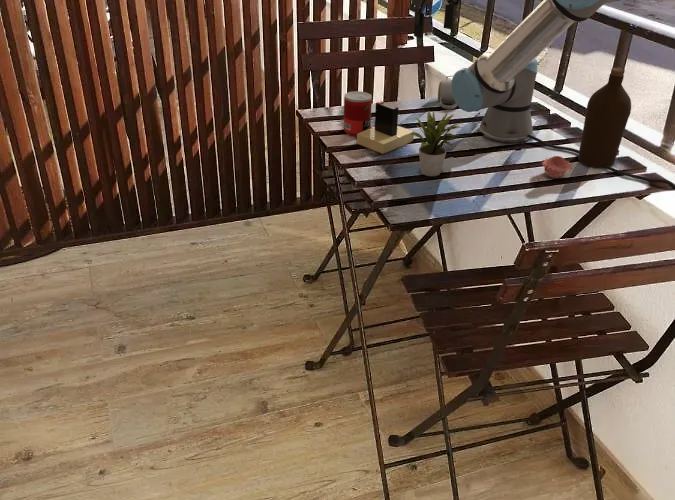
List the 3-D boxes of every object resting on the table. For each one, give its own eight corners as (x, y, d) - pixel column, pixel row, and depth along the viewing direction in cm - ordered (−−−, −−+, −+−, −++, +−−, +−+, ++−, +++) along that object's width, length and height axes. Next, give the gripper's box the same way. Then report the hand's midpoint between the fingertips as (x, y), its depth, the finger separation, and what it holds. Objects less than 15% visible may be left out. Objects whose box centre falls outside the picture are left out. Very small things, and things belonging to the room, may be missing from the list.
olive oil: (587, 170, 170) (610, 76, 157) (568, 154, 179) (588, 64, 166) (624, 167, 172) (649, 74, 159) (603, 151, 181) (625, 62, 167)
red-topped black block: (396, 134, 182) (398, 106, 178) (391, 136, 181) (393, 108, 176) (379, 128, 186) (381, 100, 181) (374, 130, 185) (375, 102, 180)
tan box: (383, 154, 178) (384, 143, 176) (355, 143, 184) (356, 132, 182) (414, 141, 186) (414, 131, 184) (386, 131, 192) (386, 121, 190)
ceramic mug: (438, 97, 217) (441, 75, 213) (463, 100, 215) (466, 77, 211) (435, 109, 208) (437, 86, 204) (460, 111, 207) (463, 88, 202)
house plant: (445, 191, 160) (452, 128, 151) (394, 178, 165) (398, 117, 156) (465, 169, 170) (473, 110, 161) (417, 158, 176) (421, 100, 167)
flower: (552, 167, 172) (556, 148, 169) (576, 178, 166) (581, 158, 163) (531, 174, 168) (535, 154, 165) (556, 186, 162) (560, 166, 159)
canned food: (368, 137, 188) (369, 101, 182) (341, 135, 189) (341, 98, 183) (372, 128, 194) (373, 92, 188) (346, 125, 195) (346, 90, 189)
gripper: (422, -43, 163) (415, 43, 175) (479, -52, 178) (470, 27, 190) (399, -46, 168) (394, 37, 179) (457, -55, 183) (449, 23, 194)
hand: (433, 32), depth 184 cm, fingers open, 13 cm apart
